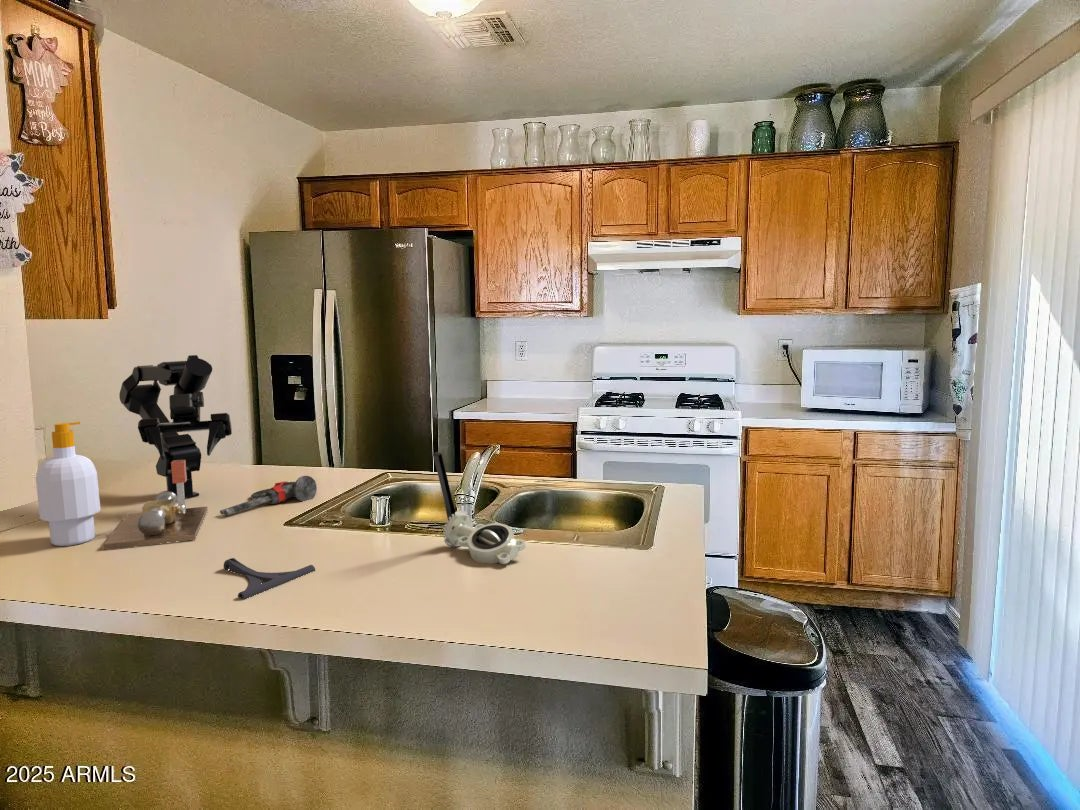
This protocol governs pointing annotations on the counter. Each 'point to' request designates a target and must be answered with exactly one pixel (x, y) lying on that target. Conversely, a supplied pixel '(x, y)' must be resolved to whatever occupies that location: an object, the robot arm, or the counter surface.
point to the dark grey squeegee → (263, 577)
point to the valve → (279, 494)
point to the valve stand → (158, 524)
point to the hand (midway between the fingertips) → (185, 456)
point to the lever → (179, 482)
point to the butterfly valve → (476, 529)
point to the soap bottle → (67, 491)
